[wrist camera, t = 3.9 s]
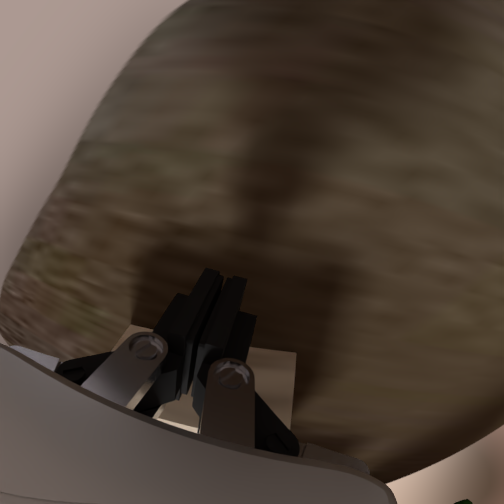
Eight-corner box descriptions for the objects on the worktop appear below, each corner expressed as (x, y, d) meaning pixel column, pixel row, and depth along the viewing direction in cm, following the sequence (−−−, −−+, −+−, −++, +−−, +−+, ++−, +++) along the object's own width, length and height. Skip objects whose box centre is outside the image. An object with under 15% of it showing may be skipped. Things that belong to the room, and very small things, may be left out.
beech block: (131, 322, 17) (82, 391, 12) (296, 350, 16) (288, 442, 11) (152, 399, 21) (123, 459, 16) (280, 424, 20) (270, 495, 14)
